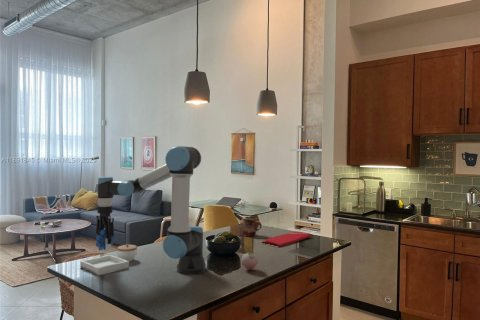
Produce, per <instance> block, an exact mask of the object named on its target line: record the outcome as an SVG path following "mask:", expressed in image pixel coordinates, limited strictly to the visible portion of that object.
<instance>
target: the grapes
mask: <svg viewBox="0 0 480 320" xmlns="http://www.w3.org/2000/svg"><path fill="white" fill-rule="evenodd" d="M105 237H107V236H106V230H105V228H104V229H102V230H101V231H100V235H98V234H97V235H96V237H95V238H96V242H95V247H96V248H98V247H99V248H98V251H103V250H105V248H106V238H105ZM115 238H116V233H114V237H111V246H112V245H113V244H114V239H115ZM105 251H106V250H105Z"/></svg>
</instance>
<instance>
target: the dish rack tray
mask: <svg viewBox="0 0 480 320" xmlns="http://www.w3.org/2000/svg"><path fill="white" fill-rule="evenodd" d="M79 266H80V267H81V268H80V269H82V268H83V270H84V271H87V272H90V273H91V274H94V275H96V276H103V275H106V274H109V273H113V272H118V271H121V270H125V269H129V268H130V267H129V266H130V263H129V261H127V260H124V259H121V258H119V257H118V256H115V255H113V254H107V255H103V256H99V257H93V258H89V259H85V260H80V265H79Z"/></svg>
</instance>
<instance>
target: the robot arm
mask: <svg viewBox="0 0 480 320" xmlns="http://www.w3.org/2000/svg"><path fill="white" fill-rule="evenodd" d="M164 160H165V164H163V165H161V166H159V167H157V168H155V169H152V170H151V171H149V172H147V173H145V174H143V175H141V176H139V177H137V178H135V179H130V180H114V178H113V177H112V176H100V177H98V178H97V214H98V215H96V226H95V227H96V228H95V234H96V235H97V236H98V235H100V231H101V230H102V229H104V230H106V236H107V237H105V238H106V248H105V251H110V250H112V245H111V237H114V234H115V229H114V221H115V218H114V217H112V216H111V214H112V213H113V211H114V210H113V208H114V207H113V201H114V199H113V197H114V196H123V197H125V196H126V197H128V196H131V195H134V194H141V193H144V191H146V189H148V188H150V187H151V188H152V187H153V186H155V185H157V184H159V183H162V182H164V181H166V180H168V179H169V178H170V179H171V181H172V182H171V207H170V208H171V211H170V214H171V215H170V226H169V227H168V228H167V236H166V237H164V240H163V242H162V250H163V252H164V253H165V254H166V256H168V257H169V258H171V259H176V260H177V259H179V260H178V263H177V264H176V265H177V266H176V272H178V273H179V274H183V275H195V274H196V275H197V274H202V273H203V272H204V273H205V271H206V270H207V265H206V264H207V263H205V258H204V252H203V249H204V229H203V227H201V226H198V225H197V226H196V225H189V223H190V222H189V218H190V213H189V212H190V190H191V186H190V185H191V184H190V183H191V177H192V176H193V175H194V169H197V168H198V167H199V166H200V164H201V162H202V155H201V152H200V151H199V150H198V149H197V148H195V147H193V146H183V145H179V146H173V147H172V148H170V149H169V150H168V151H167V153H166V155H165V159H164ZM97 248H98V249H99V247H97Z"/></svg>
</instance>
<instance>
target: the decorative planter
mask: <svg viewBox="0 0 480 320" xmlns="http://www.w3.org/2000/svg"><path fill="white" fill-rule="evenodd" d="M239 225H240V227H241V230H242V232H241V233H242V234H241V235H242V236H243V235H246V236H245V237H247V236H251V237H254V236H253V235H255V236H256V234H257V232H258V231H260V230H261V229H262V223H261V221H260V220H259V221H258V218H257V217H255V216H243V217H242V218H241V220H240V224H239Z"/></svg>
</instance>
